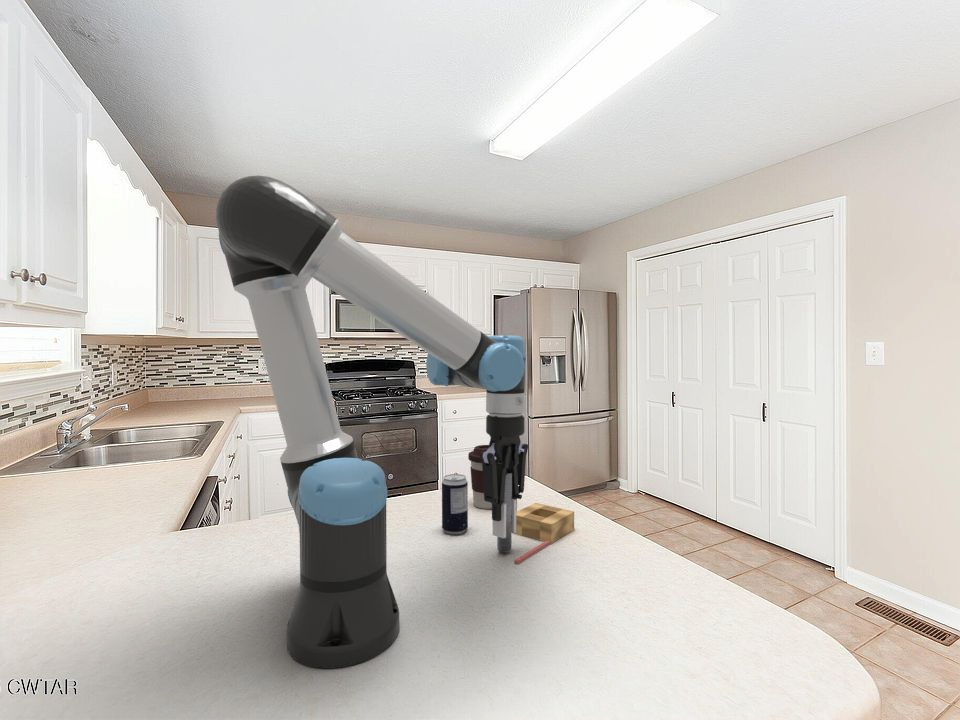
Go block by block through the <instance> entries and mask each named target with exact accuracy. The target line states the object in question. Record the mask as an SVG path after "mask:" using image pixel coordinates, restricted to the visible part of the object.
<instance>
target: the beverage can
mask: <svg viewBox="0 0 960 720" xmlns="http://www.w3.org/2000/svg"><path fill="white" fill-rule="evenodd" d="M468 484H469V482H468V480H467V476H466V475H465V474H460V473H450V474H446V475H444V476H443V479H442V482H441V529H442V530H443V531H445V533H446V534H448V535H453V536H454V535H461V534H463V533H465V531H466V530H467V529H468V528H469V517H468V516H469V513H468V511H469V507H468V506H469V505H468V504H469V503H468V498H469V496H468V494H469V493H468V488H469V487H468V486H469V485H468Z"/></svg>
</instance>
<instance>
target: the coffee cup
mask: <svg viewBox="0 0 960 720" xmlns="http://www.w3.org/2000/svg"><path fill="white" fill-rule="evenodd" d="M488 449H489V444H481V445H479V444H478V445H475V446H474V448H473V450H472V451H470V452H468V455H467V457H468V460H469V462H470V478H471V479H470V480H471V481H470V482H471V489H472V497H473V505H474V506H475V507H476V508H479V509H482V510H483V509H484V510H492V504H491V503H490V502H486V501H485V500H484V488H483V470H482V462H481V459H480V452H486V451H487V450H488ZM497 463H498V462H497Z"/></svg>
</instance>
